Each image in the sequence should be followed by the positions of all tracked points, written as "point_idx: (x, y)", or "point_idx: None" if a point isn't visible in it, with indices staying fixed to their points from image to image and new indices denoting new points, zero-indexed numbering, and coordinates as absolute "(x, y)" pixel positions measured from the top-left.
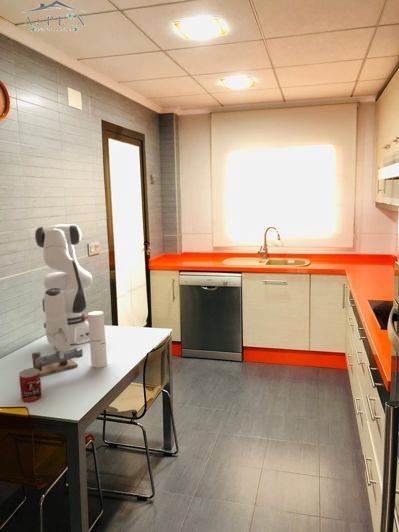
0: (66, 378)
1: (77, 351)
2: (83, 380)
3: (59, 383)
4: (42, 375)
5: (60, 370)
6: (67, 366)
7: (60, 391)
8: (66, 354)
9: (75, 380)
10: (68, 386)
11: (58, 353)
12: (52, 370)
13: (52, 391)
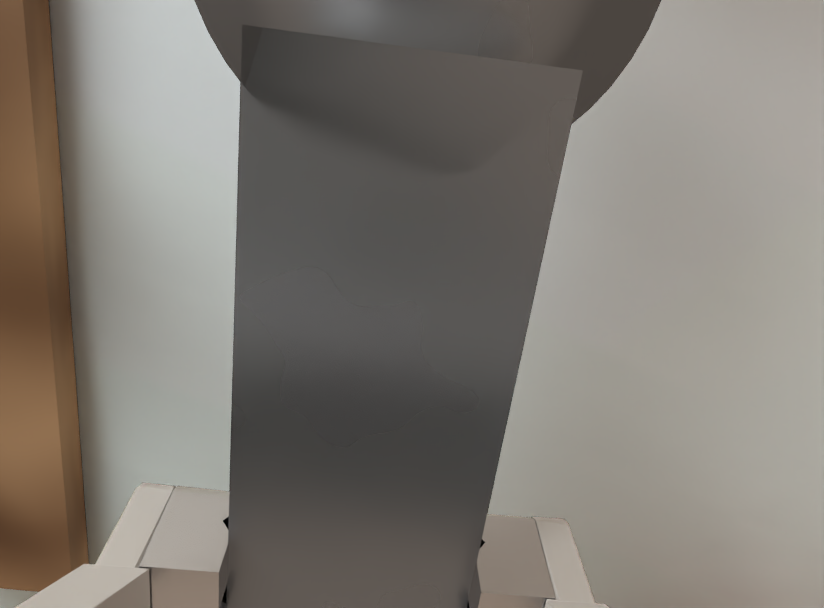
0: None
1: (636, 35)
2: (757, 89)
3: (537, 390)
4: (78, 432)
5: (54, 167)
6: (2, 16)
7: (781, 484)
8: (491, 436)
9: (639, 183)
10: (740, 355)
11: (278, 603)
12: (41, 305)
13: (692, 540)
